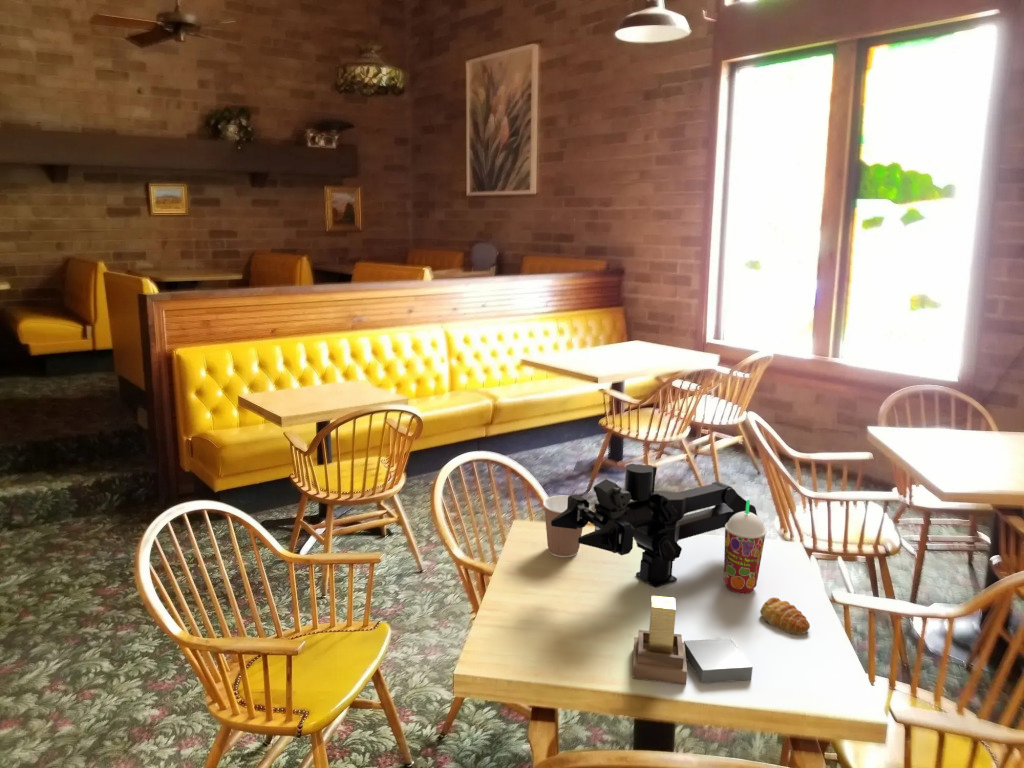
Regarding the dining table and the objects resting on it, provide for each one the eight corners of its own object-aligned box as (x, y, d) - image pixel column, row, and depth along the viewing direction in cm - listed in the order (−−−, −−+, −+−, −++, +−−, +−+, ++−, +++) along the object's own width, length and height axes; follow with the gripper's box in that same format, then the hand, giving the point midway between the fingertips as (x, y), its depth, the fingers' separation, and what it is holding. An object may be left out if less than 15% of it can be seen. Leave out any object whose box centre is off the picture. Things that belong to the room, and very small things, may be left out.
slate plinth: (682, 653, 139) (683, 640, 138) (729, 650, 140) (730, 637, 139) (701, 683, 130) (702, 670, 129) (751, 679, 131) (752, 666, 131)
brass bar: (648, 646, 136) (651, 595, 134) (670, 648, 135) (674, 597, 133) (648, 658, 132) (651, 607, 130) (671, 661, 132) (675, 609, 129)
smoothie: (717, 592, 161) (725, 504, 156) (722, 575, 168) (730, 490, 164) (758, 600, 158) (767, 510, 153) (761, 582, 165) (770, 496, 161)
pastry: (817, 631, 147) (819, 613, 146) (794, 641, 144) (796, 622, 143) (778, 609, 155) (779, 592, 154) (755, 618, 152) (757, 600, 151)
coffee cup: (589, 545, 182) (591, 498, 179) (579, 564, 172) (582, 514, 169) (547, 539, 185) (549, 492, 182) (536, 556, 175) (537, 508, 172)
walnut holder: (633, 649, 139) (634, 627, 138) (683, 655, 138) (685, 632, 137) (632, 678, 131) (634, 655, 130) (686, 684, 129) (688, 661, 128)
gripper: (599, 466, 163) (539, 478, 155) (659, 494, 148) (595, 509, 140) (597, 514, 166) (538, 529, 158) (655, 547, 150) (593, 565, 142)
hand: (564, 531), depth 149 cm, fingers open, 9 cm apart
